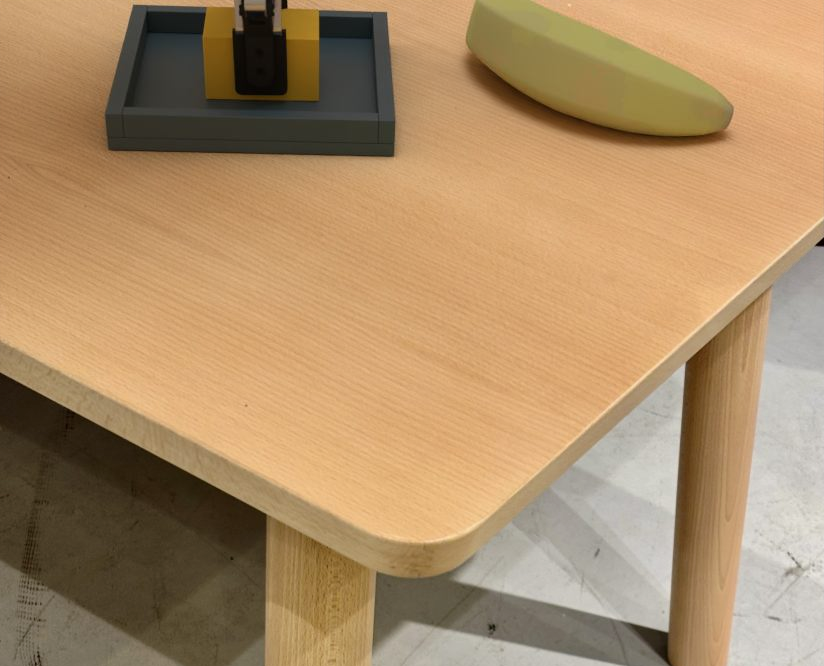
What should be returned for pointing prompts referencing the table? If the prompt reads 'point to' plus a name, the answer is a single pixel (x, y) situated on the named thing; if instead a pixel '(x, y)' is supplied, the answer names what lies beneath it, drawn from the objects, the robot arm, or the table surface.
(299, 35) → the yellow block
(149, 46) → the tray
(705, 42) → the table surface
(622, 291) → the table surface
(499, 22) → the banana
